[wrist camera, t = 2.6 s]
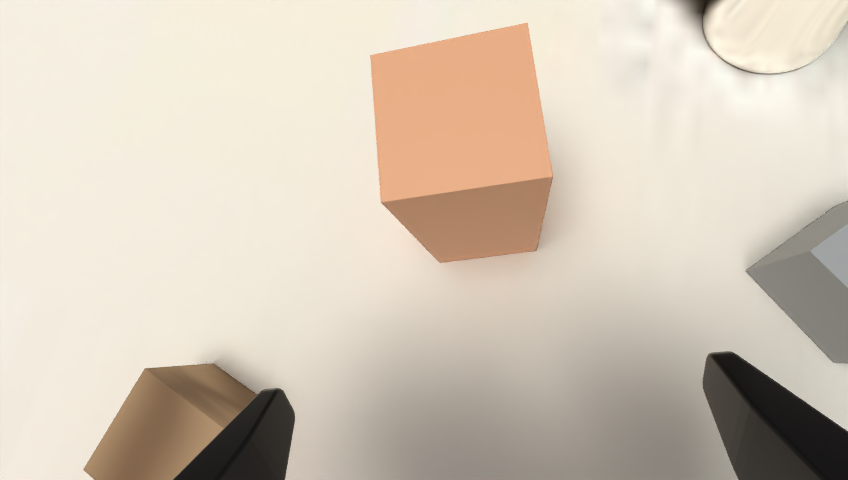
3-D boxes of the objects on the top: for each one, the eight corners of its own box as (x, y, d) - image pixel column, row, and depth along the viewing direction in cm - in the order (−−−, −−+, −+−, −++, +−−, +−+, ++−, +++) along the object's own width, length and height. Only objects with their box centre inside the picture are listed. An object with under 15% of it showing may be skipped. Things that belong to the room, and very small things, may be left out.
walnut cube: (283, 412, 24) (226, 430, 19) (233, 500, 24) (162, 540, 19) (214, 363, 26) (144, 368, 21) (165, 445, 25) (83, 469, 20)
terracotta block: (536, 250, 23) (553, 176, 13) (439, 262, 24) (381, 202, 14) (522, 159, 25) (527, 22, 14) (431, 174, 25) (370, 55, 15)
